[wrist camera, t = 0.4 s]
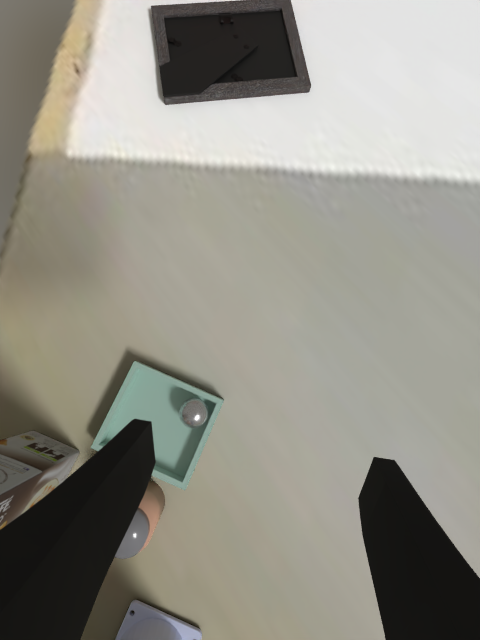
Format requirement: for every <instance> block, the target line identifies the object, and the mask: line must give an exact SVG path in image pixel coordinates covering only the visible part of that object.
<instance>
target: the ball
mask: <svg viewBox="0 0 480 640" xmlns="http://www.w3.org/2000/svg"><path fill="white" fill-rule="evenodd" d="M179 417H180V420H181V422H182V423H183V424H184V425H185V426H186V427H189V428H198V427H200V426H202V425H203V424H204V423H205V422H206V420H207V418H208V407H207V405H206V403H205V402H204V401H202V400H201V399H198V398H190V399H188V400H186V401H185V402H184V403H183V404H182V405H181V407H180V410H179Z"/></svg>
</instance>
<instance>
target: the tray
mask: <svg viewBox="0 0 480 640" xmlns="http://www.w3.org/2000/svg"><path fill="white" fill-rule="evenodd" d="M190 398H198V399H201V400H202V401H204V402H205V403H206V405H207V407H208V418H207V420H206V422H205V423H204V424H203V425H202V426H200V427H198V428H189V427H186V426H185V425H184V424H183V423H182V422H181V420H180V417H179V410H180V407H181V405H182V404H183V403H184V402H185V401H186V400H188V399H190ZM223 401H224V399H222V398H220V397H218V396H215V395H213V394H211V393H209V392H206V391H204V390H202V389H199V388H197V387H195V386H193V385H190V384H188V383H186V382H184V381H181V380H179V379H177V378H175V377H172V376H170V375H168V374H166V373H163V372H161V371H159V370H157V369H154V368H152V367H150V366H148V365H145V364H143V363H141V362H138V361H134V362H133V364H132V366H131V368H130V370H129V372H128V374H127V376H126V378H125V380H124V382H123V384H122V386H121V388H120V390H119V392H118V394H117V396H116V398H115V400H114V402H113V404H112V406H111V408H110V410H109V412H108V414H107V416H106V418H105V420H104V422H103V424H102V426H101V428H100V430H99V432H98V434H97V436H96V438H95V440H94V442H93V444H92V446H91V448H92V449H94V450H97V451H99V450H100V449H101V448H102V447H104V446H105V445H106V444H107V443H108V442H109V441H110V440H111V439H112V438H113V437H114V436H115V435H117V434H118V433H119V432H120V431H121V430H122V429H123V428H124V427H125V426H126V425H127V424H128V423H129V422H130V421H132V420H133V419H140V420H146V421H152V431H153V441H154V451H155V461H156V463H155V466H154V469H153V472H152V476H154V477H156V478H159V479H161V480H163V481H165V482H167V483H170V484H172V485H174V486H176V487H178V488H181V489H183V490H186V488H187V485H188V483H189V481H190V478H191V476H192V474H193V471H194V469H195V467H196V464H197V462H198V460H199V457H200V455H201V453H202V450H203V448H204V446H205V443H206V441H207V439H208V436H209V434H210V432H211V429H212V427H213V425H214V422H215V420H216V418H217V415H218V413H219V411H220V408H221V406H222V404H223Z"/></svg>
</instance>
